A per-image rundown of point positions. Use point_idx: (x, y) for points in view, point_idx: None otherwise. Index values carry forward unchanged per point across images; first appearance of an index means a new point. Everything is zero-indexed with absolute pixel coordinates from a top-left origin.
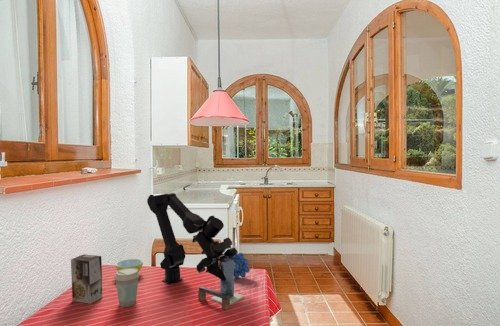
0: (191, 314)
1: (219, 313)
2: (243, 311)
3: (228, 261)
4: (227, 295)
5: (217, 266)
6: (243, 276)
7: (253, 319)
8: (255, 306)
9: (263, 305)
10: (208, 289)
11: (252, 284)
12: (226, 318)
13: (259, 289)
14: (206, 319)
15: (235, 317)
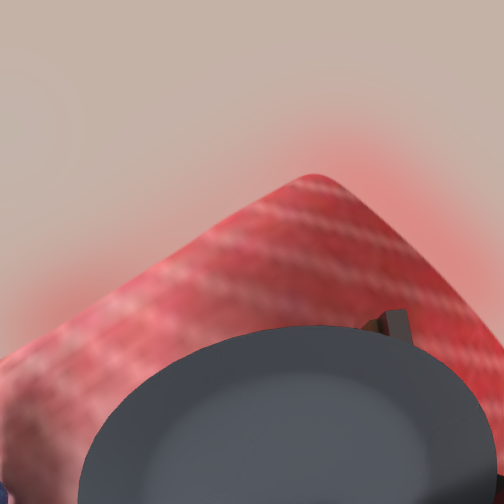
0: (493, 411)
1: (418, 334)
2: (325, 264)
3: (345, 451)
4: (392, 317)
5: (495, 496)
6: (3, 485)
7: (340, 198)
8: (245, 252)
9: (213, 231)
10: None
11: (32, 414)
12: (417, 278)
13: (63, 349)
14: (475, 331)
15: (385, 256)
